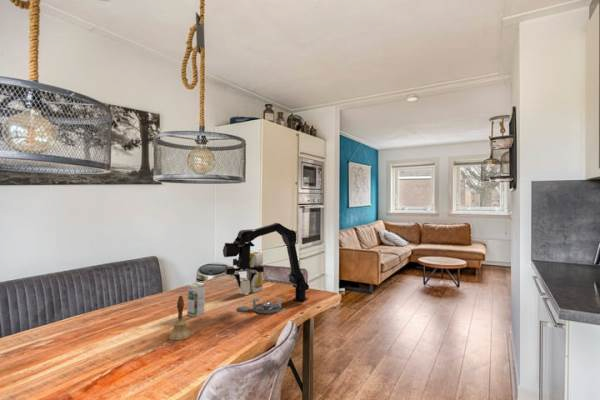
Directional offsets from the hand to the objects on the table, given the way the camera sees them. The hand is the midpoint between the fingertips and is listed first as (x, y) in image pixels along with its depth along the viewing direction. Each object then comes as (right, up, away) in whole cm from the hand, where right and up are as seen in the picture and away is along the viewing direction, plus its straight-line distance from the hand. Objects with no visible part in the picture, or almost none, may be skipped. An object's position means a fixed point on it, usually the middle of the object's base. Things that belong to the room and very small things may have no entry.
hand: (244, 286), depth 158 cm
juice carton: (0, -12, +33) cm, 35 cm away
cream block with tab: (0, -3, 0) cm, 3 cm away
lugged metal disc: (+11, -12, +1) cm, 16 cm away
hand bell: (-20, -11, -32) cm, 39 cm away
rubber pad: (0, -11, 0) cm, 11 cm away
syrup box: (-22, -11, -7) cm, 25 cm away
